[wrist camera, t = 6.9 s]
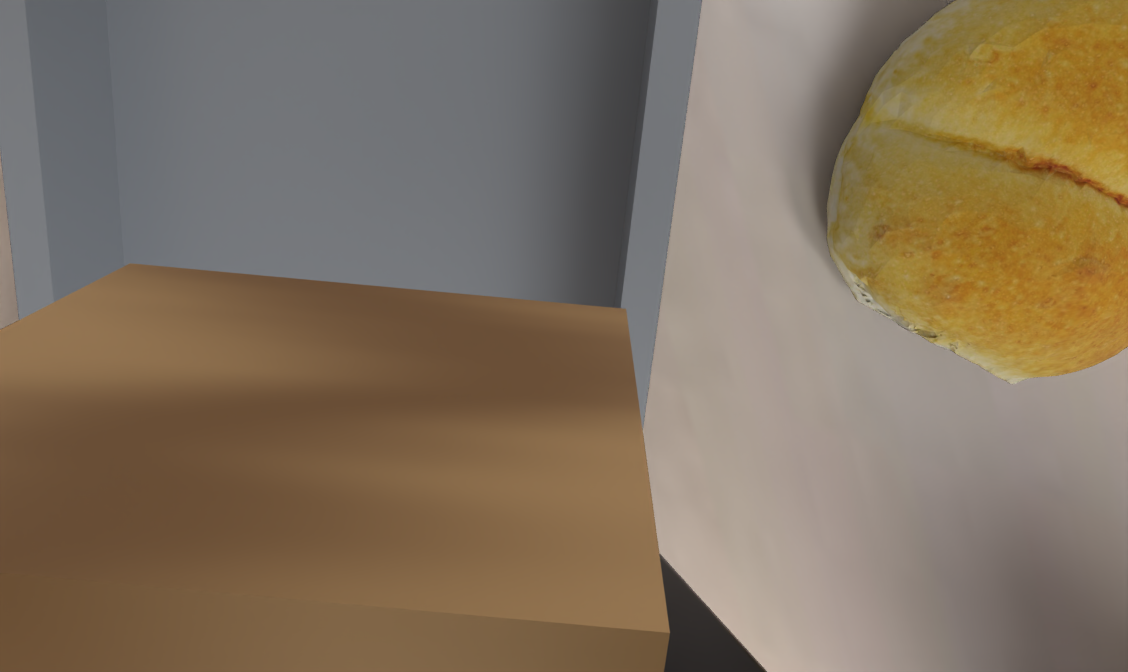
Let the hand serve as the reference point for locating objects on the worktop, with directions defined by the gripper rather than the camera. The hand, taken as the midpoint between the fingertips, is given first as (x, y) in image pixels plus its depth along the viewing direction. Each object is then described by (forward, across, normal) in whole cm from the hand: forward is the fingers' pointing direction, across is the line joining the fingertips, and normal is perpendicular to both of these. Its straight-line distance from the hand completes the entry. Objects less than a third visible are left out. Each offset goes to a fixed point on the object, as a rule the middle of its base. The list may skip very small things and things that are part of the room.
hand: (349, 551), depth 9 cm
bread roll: (+14, -12, -3) cm, 19 cm away
